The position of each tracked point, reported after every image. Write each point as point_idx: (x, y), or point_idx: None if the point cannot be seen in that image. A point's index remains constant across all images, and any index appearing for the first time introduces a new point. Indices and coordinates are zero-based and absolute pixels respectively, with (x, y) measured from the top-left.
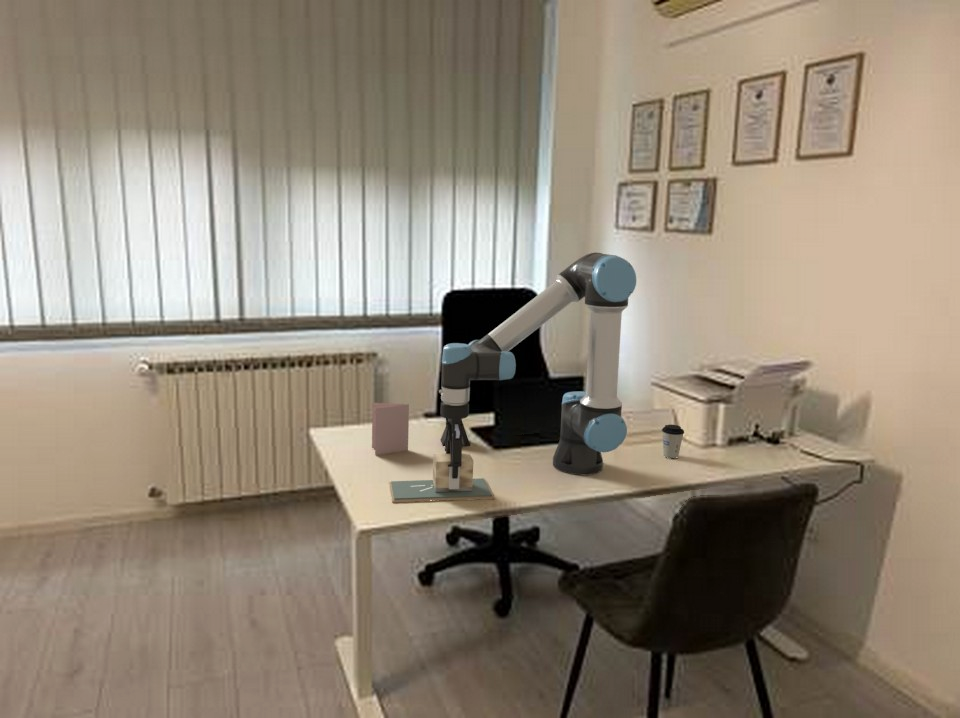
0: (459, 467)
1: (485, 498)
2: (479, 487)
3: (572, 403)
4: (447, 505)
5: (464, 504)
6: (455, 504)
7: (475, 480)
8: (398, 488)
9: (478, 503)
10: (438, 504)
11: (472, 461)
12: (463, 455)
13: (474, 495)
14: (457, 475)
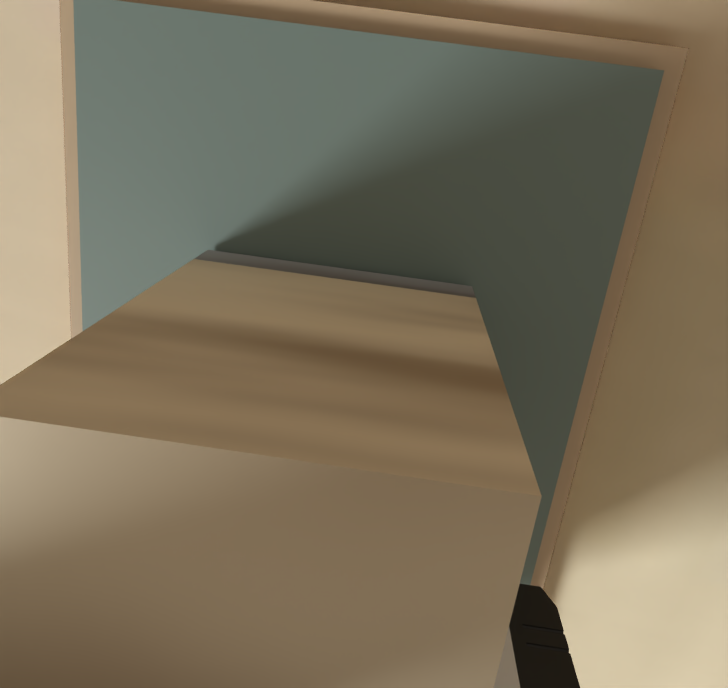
0: (515, 675)
1: (649, 164)
2: (381, 159)
3: None
4: (650, 570)
5: (690, 425)
6: (656, 502)
7: (141, 136)
8: None
9: (725, 280)
10: (599, 629)
11: (532, 507)
12: (119, 591)
13: (606, 299)
14: (562, 631)
